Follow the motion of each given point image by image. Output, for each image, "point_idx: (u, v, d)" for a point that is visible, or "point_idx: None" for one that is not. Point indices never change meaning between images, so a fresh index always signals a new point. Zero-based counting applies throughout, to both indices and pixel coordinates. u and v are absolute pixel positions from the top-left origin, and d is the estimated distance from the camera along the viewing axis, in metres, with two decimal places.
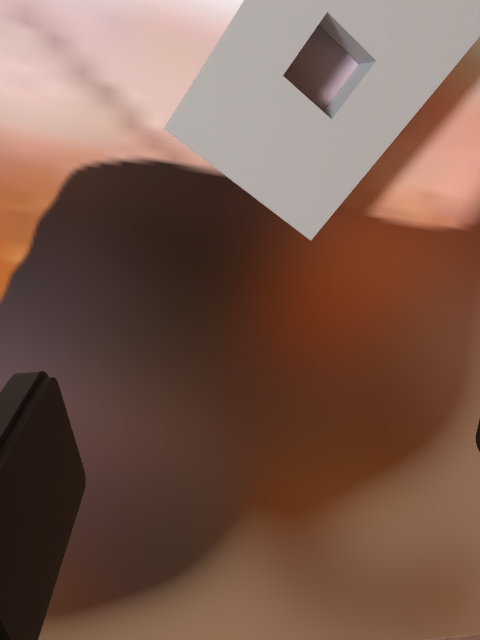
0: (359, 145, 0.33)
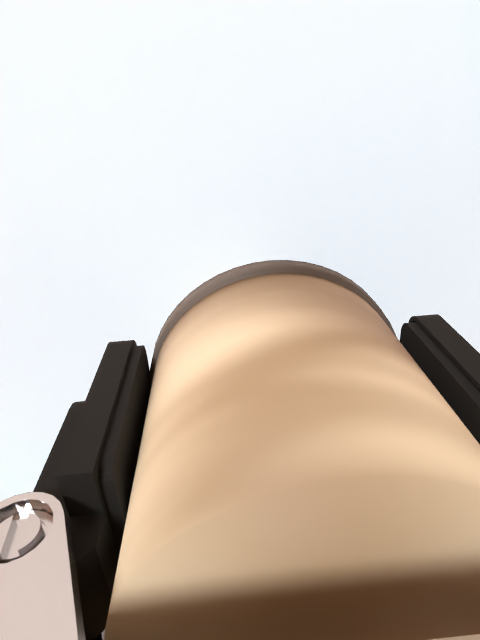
0: None
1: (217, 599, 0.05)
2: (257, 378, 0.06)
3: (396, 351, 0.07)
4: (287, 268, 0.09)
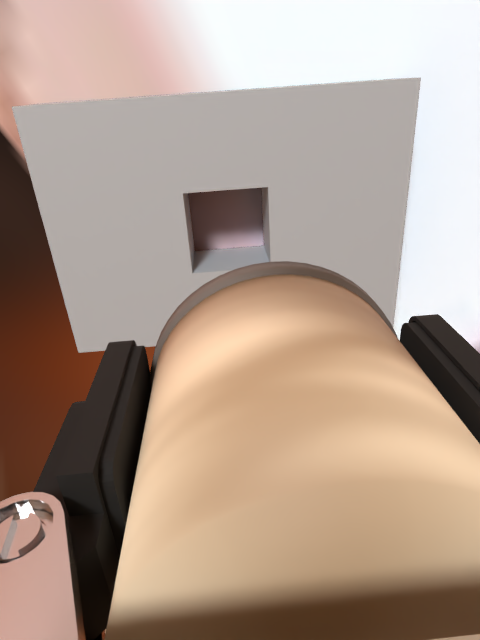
0: None
1: (218, 605, 0.05)
2: (259, 381, 0.06)
3: (398, 353, 0.07)
4: (288, 269, 0.09)
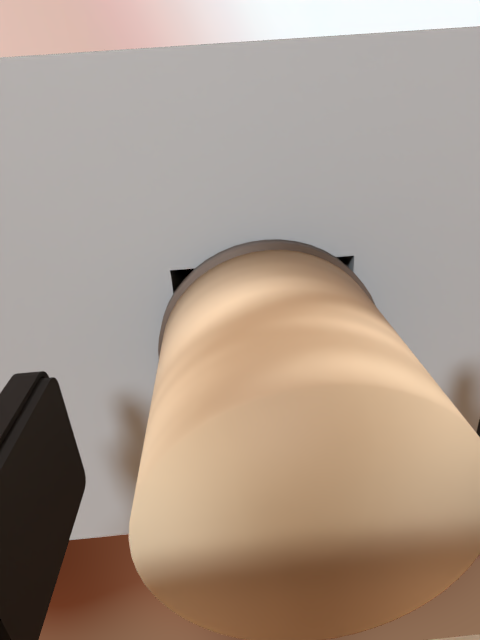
0: None
1: (219, 492, 0.06)
2: (252, 326, 0.07)
3: (370, 310, 0.08)
4: (279, 245, 0.10)
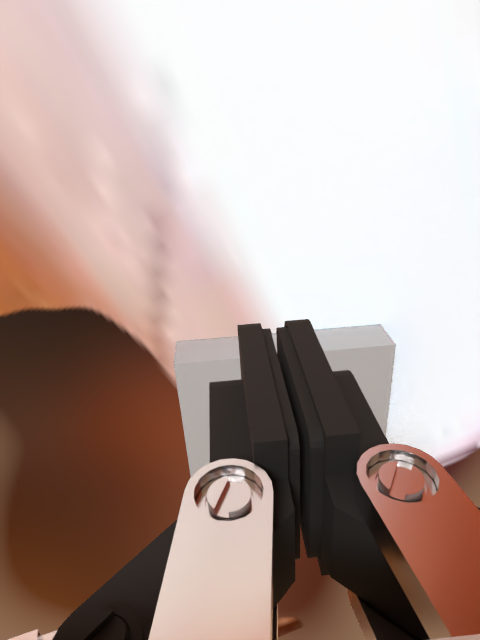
0: None
1: None
2: None
3: None
4: None
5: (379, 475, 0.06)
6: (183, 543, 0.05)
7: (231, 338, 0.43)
